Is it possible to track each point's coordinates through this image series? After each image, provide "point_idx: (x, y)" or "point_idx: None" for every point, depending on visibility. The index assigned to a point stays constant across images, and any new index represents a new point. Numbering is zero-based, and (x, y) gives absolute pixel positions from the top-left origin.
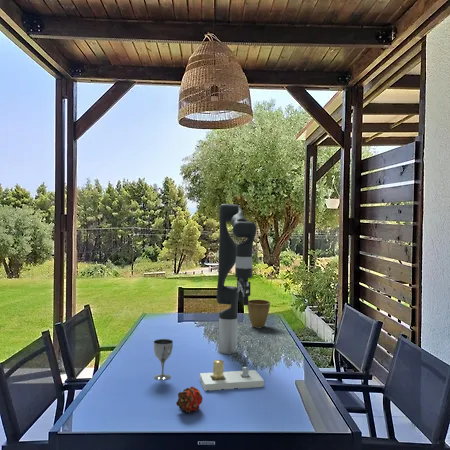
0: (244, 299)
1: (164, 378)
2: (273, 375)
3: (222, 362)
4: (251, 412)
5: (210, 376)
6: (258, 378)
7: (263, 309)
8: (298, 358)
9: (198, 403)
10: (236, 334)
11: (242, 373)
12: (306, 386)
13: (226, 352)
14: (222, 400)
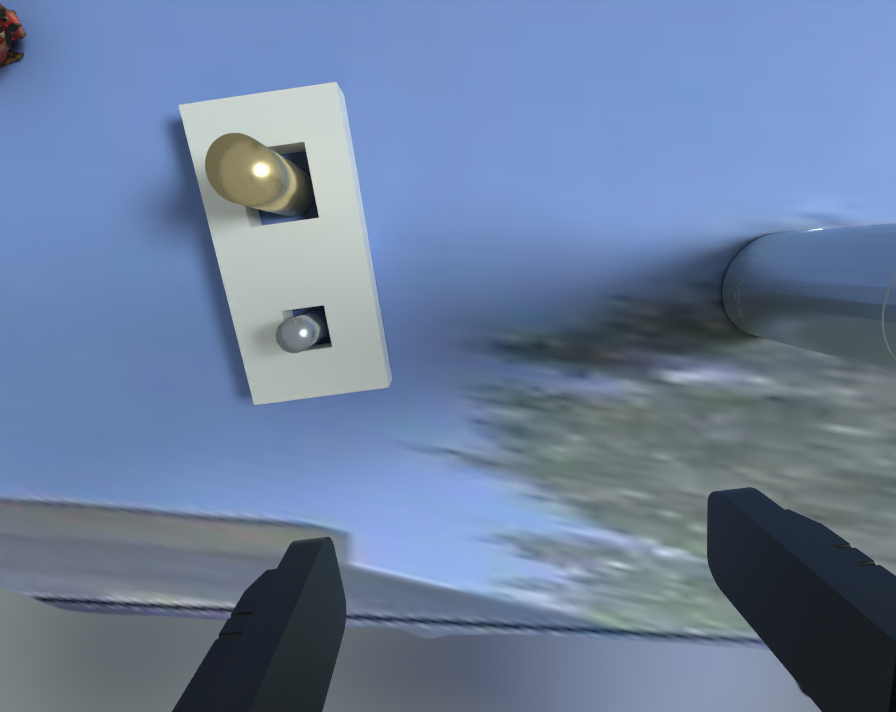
0: (238, 659)
1: None
2: (397, 459)
3: (223, 194)
4: (5, 306)
5: (306, 145)
6: (276, 385)
7: None
8: (608, 604)
9: None
10: (834, 354)
11: (298, 316)
12: (279, 556)
13: (730, 275)
14: (101, 196)
